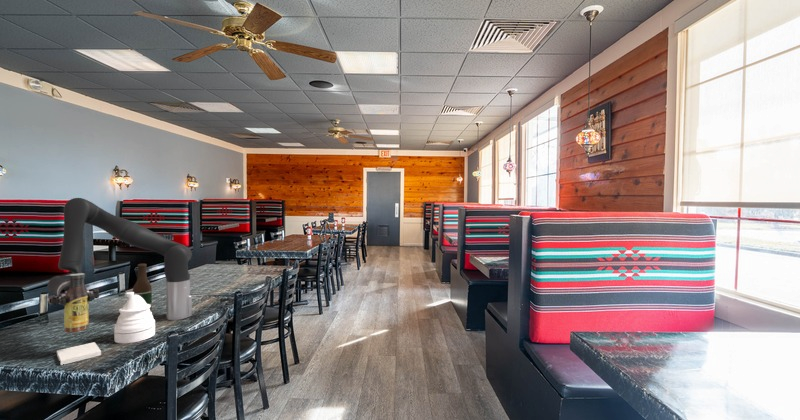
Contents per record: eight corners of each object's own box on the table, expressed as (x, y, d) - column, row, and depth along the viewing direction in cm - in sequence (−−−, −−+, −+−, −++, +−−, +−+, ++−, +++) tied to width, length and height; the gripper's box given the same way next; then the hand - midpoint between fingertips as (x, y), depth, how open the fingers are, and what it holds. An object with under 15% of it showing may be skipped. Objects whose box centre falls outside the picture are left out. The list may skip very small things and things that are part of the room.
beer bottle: (155, 313, 164) (155, 263, 164) (136, 318, 157) (135, 266, 157) (148, 310, 168) (147, 262, 168) (129, 315, 162) (128, 264, 161)
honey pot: (130, 345, 128) (129, 297, 128) (105, 340, 132) (105, 294, 131) (163, 332, 140) (162, 288, 140) (140, 329, 144) (139, 286, 144)
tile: (94, 342, 127) (101, 351, 120) (94, 346, 127) (101, 356, 120) (56, 350, 120) (60, 360, 112) (56, 355, 120) (60, 366, 112)
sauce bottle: (73, 334, 118) (72, 277, 117) (59, 332, 119) (58, 275, 118) (94, 327, 124) (93, 272, 123) (80, 325, 125) (79, 271, 125)
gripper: (44, 285, 125) (48, 293, 114) (96, 278, 136) (104, 286, 125) (44, 305, 125) (48, 316, 114) (96, 297, 136) (105, 306, 125)
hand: (78, 300), depth 120 cm, fingers closed on sauce bottle, 6 cm apart
